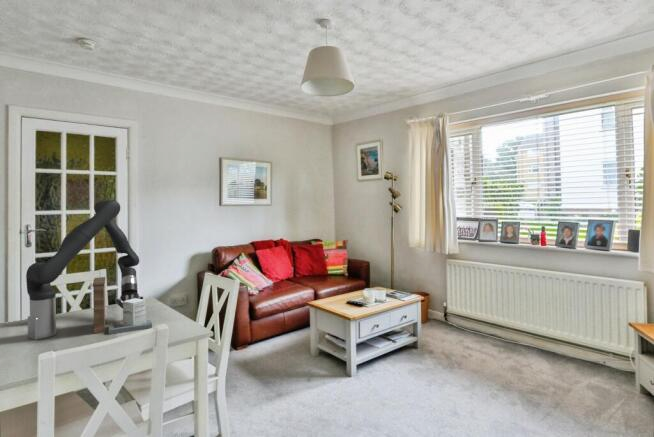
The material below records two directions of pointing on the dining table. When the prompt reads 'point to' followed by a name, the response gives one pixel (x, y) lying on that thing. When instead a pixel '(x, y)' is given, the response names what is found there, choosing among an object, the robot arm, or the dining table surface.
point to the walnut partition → (99, 304)
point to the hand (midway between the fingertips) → (130, 315)
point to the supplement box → (134, 312)
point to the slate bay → (130, 328)
